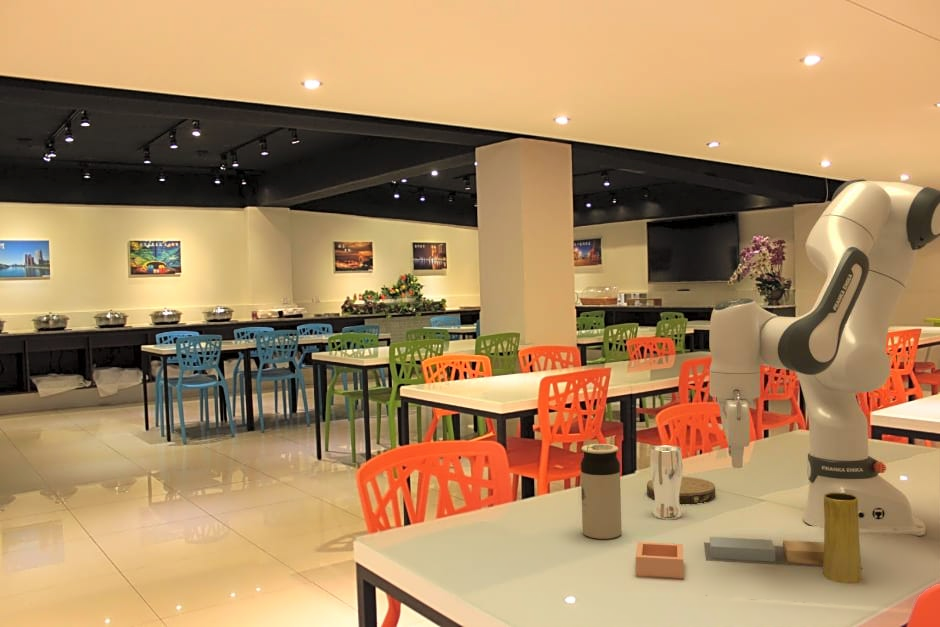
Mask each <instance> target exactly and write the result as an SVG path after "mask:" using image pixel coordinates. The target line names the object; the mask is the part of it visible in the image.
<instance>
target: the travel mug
mask: <svg viewBox="0 0 940 627" xmlns="http://www.w3.org/2000/svg"><path fill="white" fill-rule="evenodd" d="M581 451H582V453H583V454H582V455H583V458H582V460H581V461H580V484H581V485H580V487H581V489H580V490H581V491H580V492H581V518H582V519H581V522H582V524H581V525H582V534H583V535H584V536H587V537H588V538H591V539H595V538H596V540H610V539H615V538H617V537H620V536H621V535H622V528H623V527H622V498H621V496H622V495H621V494H622V493H621V463H620V461H619V460H618V458H617V453H618V451H619V447H618V446H617V445H614V444H608V443H592V444H591V443H590V444H586V445H583V446H581Z"/></svg>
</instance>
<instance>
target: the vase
mask: <svg viewBox="0 0 940 627" xmlns="http://www.w3.org/2000/svg"><path fill="white" fill-rule="evenodd" d="M823 539H824V540H823V542H824V558H823V567H822V569H823V570H822V575H823V578H826V579H827V580H830V581H833V582H836V583H841V584H854V583H855V584H858V583H860V582H861V581H863V577H862V576H863V575H862V569H861V568H862V561H861V560H862V559H861V545H860V544H861V543H860V542H861V541H860V534H859V523H858V498H857V496H855V495H852V494H847V493H827V494H824V528H823Z"/></svg>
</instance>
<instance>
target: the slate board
mask: <svg viewBox="0 0 940 627" xmlns="http://www.w3.org/2000/svg"><path fill="white" fill-rule="evenodd" d="M709 543H710V552H711V558H717V559H734V560H752V561H770V562H775V548H774V546H775V545H774V544H773V540H772V539H761V538H743V537H742V538H741V537H720V536H709Z"/></svg>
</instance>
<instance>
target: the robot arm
mask: <svg viewBox="0 0 940 627" xmlns="http://www.w3.org/2000/svg"><path fill="white" fill-rule="evenodd" d="M809 232H810V233H809V234H808V236H807V239H806V242H805V250H806V251H805V252H806V255H807V257H808V261H809V262H810V263H811V264H812V265H813V266H814V267H815V268H816V269H817V270H818V271H819V272H821V273H822V274H823V275H825V276H826V280H825V282H824V284H823V287H822V288H821V290H820V292H819V294H818V296H817V299H816V301H815V303H814V305H813V307H812V308H811V309H810V311H808V312H806V313H805V314H803V315H801V316H800V315H799V316H797V317H796V316H795V317H794V316H782V315H777V314H775V313H772V312H770V311H768V310H766V309H764V308H762V307H761V306H760V305H759V304H758V303H757V302H756V301H755V300H754V299H752V298H737V299H729V300H725V301H721V302H719V303H718V304H716V305H715V306H714V307H713V310H712V312H711V315H710V316H711V317H710V322H709V337H708V338H709V339H708V340H709V346H708V347H709V351H710V353H711V362H710V365H709V396H710V397H712V398H716V405H717V406H719V414H720V420H721V425H722V426H721V427H722V428H723V431H724V435H725V438H726V441H727V450H728V451H727V453H728V456H729V457H731V467H732V468H734V469H742V468H743V462H744V451H745V447H749V446H750V443H751V439H750V438H751V431H750V430H751V429H750V428H751V426H750V425H751V424H750V408H752V407H753V406H754V402H753V401H754V399H759V398H761V366H765V367H769V368H771V367H772V368H775V369H780V370H781V369H782V370H789V371H792V372H794V374H795V375H796V377H797V379H798V381H799V385H800V387H801V392H802V395H803V398H804V403H805V406H806V412H807V416H808V417H807V418H808V429H809V430H808V431H809V434H808V435H809V452H808V454H807V460H806V461H807V462H806V466H807V468H806V472H807V478H808V481H809V482H808V491H807V492H808V493H807V500H806V505H805V509H804V513H803V516H802V520H803V521H804V523H806V524H808V525H810V526H811V527H819V528H823V529H824V494H827V493H847V494H852V495H855V496H857V498H858V523H859V535H911V534H912V535H913V534H914V535H915V536H919V537H920V536H924V535H925V534H926V533H927V529H926V525H925V523H924V522H923V521H922V520H921V519H920V518H918V517H916V515H913V510H912V506H911V503H910V500H909V499H908V497H907V496H906V494H904V493H903V492H902V491H900V490H899V489H898V488H897V487H895V486H894V485H893V484H892V483H890V481H887V479H884V478H883V477H882V476H881V475H879V474H883V473H886V471H887V466H886V465H885V463H883V462H882V461H879V460H877V459H875V458H873V457H871V456H870V455H869V422H868V419H867V415H866V414H865V413H864V411H863V410H862V408H861V407H860V404H859V402H858V400H857V397H856V394H863V393H871V392H874V391H877V390H878V389H880V388H882V387H883V386H884V385H885V384H886V383H887V381H888V379H889V378H890V376H891V375H890V374H891V371H892V370H891V367H892V365H891V360H890V357H889V356H888V354H887V340H888V339H887V338H888V333H889V328H890V324H891V321H892V319H893V317H894V315H895V312H896V310H897V308H898V305H899V303H900V300H901V299H902V297H903V295H904V292H905V290H906V288H907V287H908V286H907V285H908V283H909V281H910V279H911V276H912V274H913V271H914V268H915V264H916V260H917V257H918V253H919V252H918V250H922V249H923V248H925V246H926V245H927V244H929V243H932V242H934V241H936V239H937V238H938V237H940V190H939V189H936V188H932V187H929V186H926V187H923V186H920V185H915V184H912V183H911V184H910V183H906V182H899V181H882V180H881V181H880V180H879V181H878V180H877V181H876V180H866V179H860V178H859V179H851V180H847V181H845V182H843V183H842V184H841V185H840V186H839V187H837V188H836V190H835V191H834V192H833V195H832V198H831V200H830V203H829V204H828V206H827V207H826V208H825V210H824V211H823V212H822V214H821V215H820V217H819V218H818V220H817V221H816V222H815V224H814V225H813V227H812V228H811V230H810V231H809Z"/></svg>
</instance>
